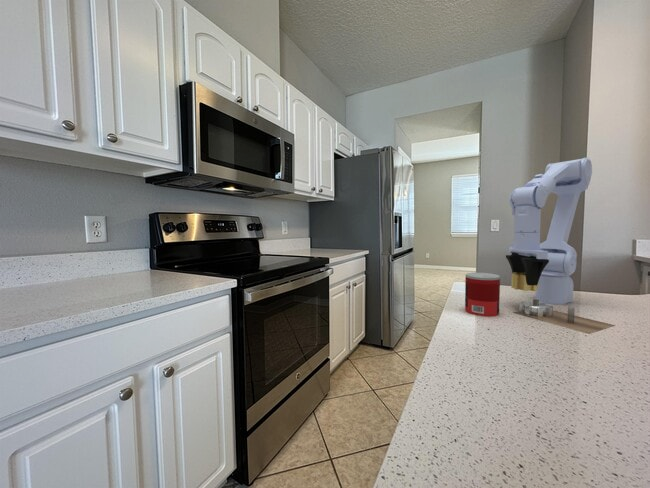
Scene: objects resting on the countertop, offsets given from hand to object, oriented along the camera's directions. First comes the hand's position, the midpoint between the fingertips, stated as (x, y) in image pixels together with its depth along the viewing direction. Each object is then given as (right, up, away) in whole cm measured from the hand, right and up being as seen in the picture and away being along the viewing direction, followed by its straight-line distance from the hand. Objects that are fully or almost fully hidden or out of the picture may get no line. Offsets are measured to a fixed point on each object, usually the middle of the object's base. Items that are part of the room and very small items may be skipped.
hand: (525, 282), depth 75 cm
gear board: (+4, -9, -7) cm, 12 cm away
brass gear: (0, -2, 0) cm, 2 cm away
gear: (+1, -8, -3) cm, 8 cm away
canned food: (-12, -9, 0) cm, 15 cm away
